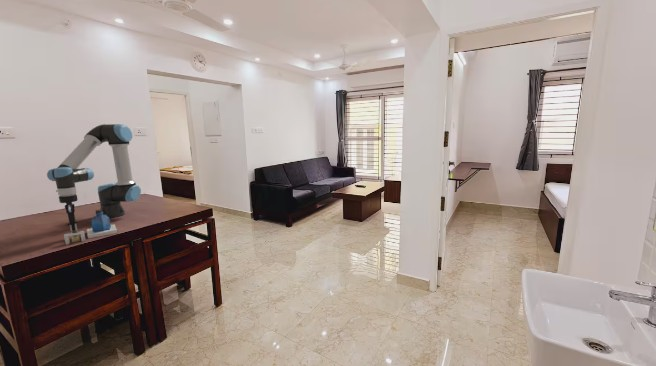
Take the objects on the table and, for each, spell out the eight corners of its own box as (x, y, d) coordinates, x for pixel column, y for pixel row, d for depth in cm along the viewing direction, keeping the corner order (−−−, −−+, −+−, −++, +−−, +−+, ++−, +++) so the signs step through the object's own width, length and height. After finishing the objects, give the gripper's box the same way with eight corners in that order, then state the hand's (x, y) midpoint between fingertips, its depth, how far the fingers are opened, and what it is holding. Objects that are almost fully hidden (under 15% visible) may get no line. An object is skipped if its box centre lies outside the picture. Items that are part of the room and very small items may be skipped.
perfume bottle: (100, 227, 172) (96, 209, 170) (110, 227, 173) (107, 208, 170) (92, 231, 166) (89, 211, 164) (103, 231, 167) (100, 211, 164)
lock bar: (72, 238, 161) (70, 230, 160) (79, 237, 163) (77, 228, 162) (72, 242, 155) (70, 234, 154) (79, 241, 157) (77, 232, 156)
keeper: (65, 243, 153) (64, 234, 152) (85, 239, 159) (83, 230, 158) (65, 244, 152) (63, 235, 151) (85, 240, 157) (84, 231, 156)
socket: (87, 232, 170) (86, 229, 170) (115, 227, 179) (114, 224, 179) (88, 238, 160) (87, 235, 160) (117, 232, 169) (116, 229, 169)
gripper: (59, 194, 160) (66, 233, 165) (57, 198, 151) (65, 239, 155) (76, 192, 165) (83, 230, 169) (76, 195, 155) (83, 236, 160)
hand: (74, 234), depth 162 cm, fingers closed
